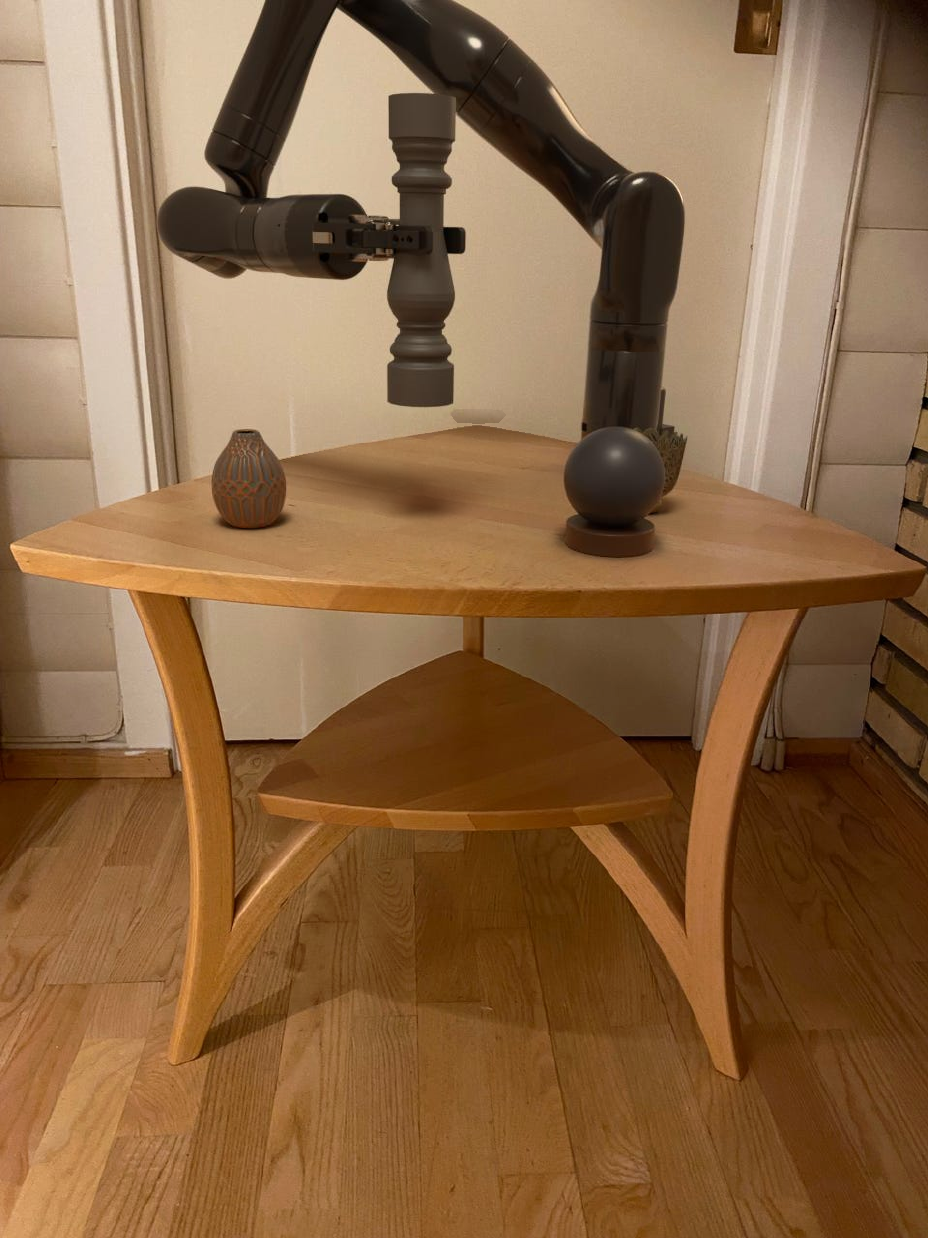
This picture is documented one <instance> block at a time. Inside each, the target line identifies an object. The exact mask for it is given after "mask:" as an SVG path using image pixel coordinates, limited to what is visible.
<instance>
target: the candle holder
mask: <svg viewBox="0 0 928 1238" xmlns="http://www.w3.org/2000/svg"><path fill="white" fill-rule="evenodd" d="M387 100H388V101H387V102H388V103H387V104H388V105H387V106H388V108H387V109H388V139H389V140H390V141H391V151H393V154H394V155H395V157H396V162H397V163H398V164H399V169H398V170H397V171H396V172H395V173H394V174H393V175H391V185H393V186H394V187H395V188H397V193H398V194H399V219H400V226H430V227H431V228H432V229H433V251H432V253H431V254H408V253H396V254H395V256H394V259H393V261H392V266H391V271H390V275H389V280H388V284H387V290H386V300H387V304H388V307H389V309H390V312H391V313H392V315H393V316H394V318H396V320H397V323H396V327H397V328H398V329H399V333H397V336H396V337H395V338H394V342H392V344H391V345H390V346H389V353H390V354H391V355H392V357H393V359H392V360H390V361H389V362H388V363H387V365H386V375H387V376H386V389H387V391H386V393H387V394H386V397H387V399H386V400H387V401H386V402H387V403H389V404H390V405H394V406H399V407H406V408H407V407H409V408H440V407H445V406H446V407H447V406H450V405H453V404H454V396H455V395H454V390H455V389H454V388H455V386H454V385H455V364H454V363H452V362H451V361H450V360H448V358H449V357H450V356H451V355H452V351H453V349H452V346H451V345H450V344H449V343H448V339H447V338H446V336H445V334H443V330H444V329H445V327H446V323H445V321H446V319H447V318H448V317H449V316H450V314H451V311H452V310H453V308H454V304H455V300H456V289H455V285H454V280H453V275H452V269H451V264H450V260H449V254H447V248H446V243H445V238H444V233H443V226H444V222H445V221H444V217H445V215H444V214H445V213H444V212H445V211H444V210H445V195H446V194H447V190H448V189H449V188H451V187H452V184H453V178H452V177H451V175H449V174H448V173H447V172H446V171H445V166H446V164H447V163H448V160H449V157H450V155H451V154H452V151H453V146H452V145H453V144H454V142H456V128H457V127H456V122H457V121H456V120H457V119H456V118H457V116H456V97H453V96H449V95H442V94H434V93H432V92H401V93H392V94H389V95H388V99H387Z"/></svg>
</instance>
